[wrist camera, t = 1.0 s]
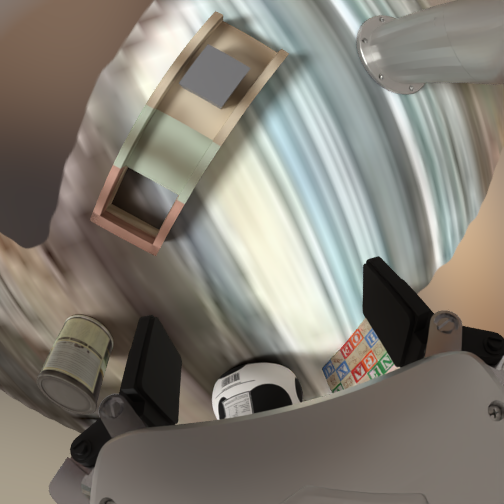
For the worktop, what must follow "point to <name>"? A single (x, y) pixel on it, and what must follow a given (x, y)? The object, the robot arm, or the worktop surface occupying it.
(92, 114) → the worktop surface
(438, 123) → the worktop surface
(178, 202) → the lane
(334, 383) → the stack of blocks
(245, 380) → the milk container
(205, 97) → the block
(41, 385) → the coffee can
